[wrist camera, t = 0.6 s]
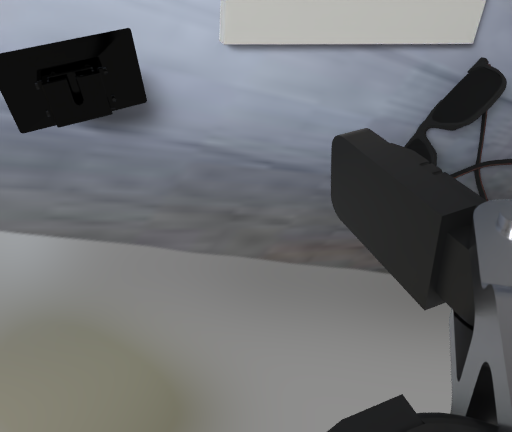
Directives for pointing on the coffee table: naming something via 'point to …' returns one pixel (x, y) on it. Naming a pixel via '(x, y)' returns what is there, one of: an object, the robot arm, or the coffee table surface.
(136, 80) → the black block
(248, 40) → the board
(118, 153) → the coffee table surface
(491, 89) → the sunglasses
